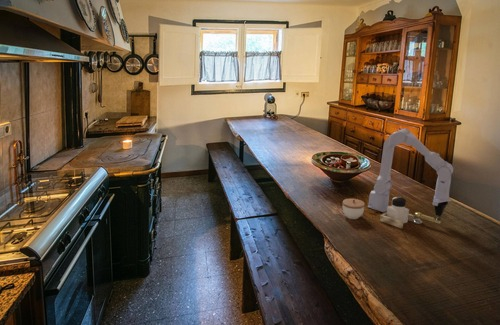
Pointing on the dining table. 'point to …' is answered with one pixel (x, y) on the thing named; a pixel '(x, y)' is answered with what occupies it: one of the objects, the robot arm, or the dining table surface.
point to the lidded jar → (353, 208)
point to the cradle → (394, 220)
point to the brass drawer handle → (428, 217)
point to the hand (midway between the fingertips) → (438, 215)
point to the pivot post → (417, 221)
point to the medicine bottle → (398, 210)
